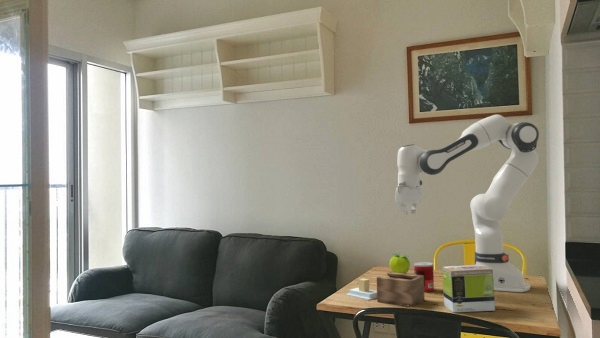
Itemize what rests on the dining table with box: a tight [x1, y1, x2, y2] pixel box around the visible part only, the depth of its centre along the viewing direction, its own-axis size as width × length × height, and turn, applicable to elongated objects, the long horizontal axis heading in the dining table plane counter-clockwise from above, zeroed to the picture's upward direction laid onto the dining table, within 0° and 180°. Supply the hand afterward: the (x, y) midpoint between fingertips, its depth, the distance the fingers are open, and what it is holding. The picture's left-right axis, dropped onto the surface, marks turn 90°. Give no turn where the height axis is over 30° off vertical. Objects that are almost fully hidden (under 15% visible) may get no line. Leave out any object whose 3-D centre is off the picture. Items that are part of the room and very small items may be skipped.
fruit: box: [389, 253, 411, 274], centre depth 236 cm, size 9×9×10 cm
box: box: [376, 271, 425, 307], centre depth 187 cm, size 14×12×9 cm
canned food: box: [413, 261, 435, 293], centre depth 203 cm, size 8×8×11 cm
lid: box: [345, 278, 377, 301], centre depth 196 cm, size 12×9×7 cm
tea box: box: [441, 264, 496, 313], centre depth 174 cm, size 15×10×15 cm
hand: (409, 214), depth 210 cm, fingers open, 8 cm apart
